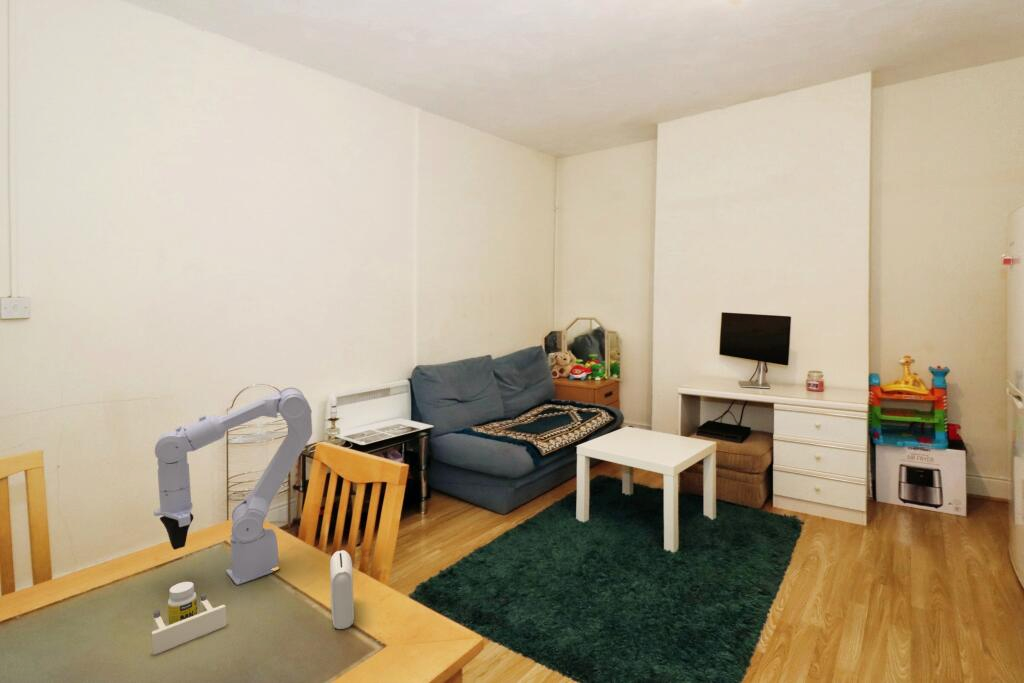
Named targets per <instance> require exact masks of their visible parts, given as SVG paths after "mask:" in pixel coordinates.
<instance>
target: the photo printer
mask: <svg viewBox="0 0 1024 683" xmlns="http://www.w3.org/2000/svg"><path fill="white" fill-rule="evenodd" d="M329 579H330V582H329V586H330V605H331V618H332V624H333V628H336V629H337V630H343V629H344V630H345V629H348V628H349V627H351V626H352V625H353V624H354V619H355V608H354V607H355V606H354V603H355V602H354V574H353V560H352V558H351V556H350V554H349V553H348V552H347V551H346V550H343V549H342V550H337V551H335V552H334V553H333V554H332V556H331V558H330V562H329Z"/></svg>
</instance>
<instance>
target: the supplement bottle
mask: <svg viewBox="0 0 1024 683" xmlns="http://www.w3.org/2000/svg"><path fill="white" fill-rule="evenodd" d="M168 592H169V598H168V601H167V615H168V625H171V624H173V623H176V622H179V621H181V620H184V619H187V618H189V617H192V616H194V615H197V614H198V603H197V599H198V598H197V593H196V592H195V585H194V583H193V582H192V581H182V582H178V583H176V584H174V585H172V586H171V587H170V588H169V591H168Z"/></svg>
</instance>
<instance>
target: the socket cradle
mask: <svg viewBox="0 0 1024 683" xmlns="http://www.w3.org/2000/svg"><path fill="white" fill-rule="evenodd" d="M199 603H200V604H199V606H200V613H197V615H194V616H192V617H189V618H187V619H184V620H181V621H179V622H176V623H173V624H171V625H169V624H168V625H166V624H165V622H164V620H163V618H162V617H161V610H160V609H156V610H154V611H153V618H152V619H153V631H151V641H152V642H151V643H152V644H151V645H152V653H153V655H154V656H156V655H159V654H161V653H162V652H166V651H169V650H170V649H173V648H176V647H178V646H180V645H183V644H185V643H188V642H190V641H193V640H195V639H198V638H200V637H202V636H205V635H208V634H210V633H212V632H215V631H217V630H221V629H222V628H224V627H226V626H227V609H226V605H225V604H222V605H218V606H215V607H213V606H212V605H211V603H210V601H209V600H208V599H207V593H201V594H200V599H199Z"/></svg>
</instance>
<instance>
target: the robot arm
mask: <svg viewBox="0 0 1024 683" xmlns="http://www.w3.org/2000/svg"><path fill="white" fill-rule="evenodd" d="M312 411H313V410H312V408H311V407H310V403H309V401H308V400H307V398H306V397H305V396H304V394H303V392H302V391H301V390H300V389H298V388H296V387H286V388H283V389H282V390H281V391H273V392H271V393H269V394H267V395H265V396H263V397H259V398H258V399H255V400H254V401H252V402H249V403H248V404H245V405H243V406H241V407H240V408H237V409H234V410H233V411H231V412H229V413H226V414H224V415H222V416H217V415H213V414H211V415H208V416H206V414H203V415H200V416H199V417H198V420H196V421H194V422H192V423H188V424H187V425H184V426H183V427H182V426H181V425H180V426H177V427H176V428H175V430H170V431H166V432H164V433H163V434H162V435H161V436H160V437H159V439H158V441H157V442H156V444H155V447H154V455H155V457H156V458H157V465H158V468H157V479H158V482H157V483H158V492H159V493H158V494H159V509H156V510H154V511H153V515H154V516H155V517H158V516H161V517H159V520H160V521H161V523H162V525H163V526H164V528H165V529H166V532H167V536H168V539H169V541H170V544H171V547H172V549H173V550H178V549H181V548H184V547H185V546H186V543H187V538H188V532H189V529H190V525H191V524H192V522H193V521H194V515H193V513H192V510H193V507H194V506H193V502H192V496H191V478H190V476H191V475H190V466H189V462H188V453H190V452H195V451H197V450H199V449H202V448H203V447H206V446H209V445H210V444H212V443H215V442H218V441H220V440H221V439H223V438H224V437H225V435H226V433H227V431H228V430H231V429H233V428H235V427H238V426H240V425H243V424H246V423H249V422H251V421H253V420H256V419H258V418H262V417H267V418H269V417H270V418H275V419H277V418H278V414H279V415H280V416H281V417H282V419H283V420H284V422H285V423H286V426H287V428H288V433H287V434H286V436H285V438H284V439H283V441H282V443H281V444H280V446H279V447H278V448H277V450H276V452H275V453H274V455H273V457H272V459H271V460H270V461H269V464H268V465H267V467H266V468H265V470H264V471H263V473H262V475H261V476H260V478H259V480H258V482H257V483H256V484H255V486H254V488H253V490H252V491H250V492H249V493H248V494H246V497H245V498H244V500H243V501H242V502H240V503H239V504H237V505H236V506H235V507H234V508H233V510H232V513H231V520H232V526H231V534H230V537H229V538H230V555H231V556H230V557H231V568H228V569H226V571H225V572H226V574H227V575H228V576H229V577H230V578H231V580H232V581H233V582H234V583H235V584H236V586H237V585H242V584H244V583H247V582H250V581H252V580H256V579H258V578H261V577H264V576H266V575H269V574H273V573H274V572H273V570H271V569H272V568H275V567H277V566H279V567H280V565H279V564H280V563H279V548H278V538H277V534H276V533H275V531H274V529H272V528H268V529H267V528H266V529H265V528H264V522H265V519H266V517H267V516H268V514H269V511H270V507H271V504H272V502H273V500H274V498H275V496H276V495H277V493H278V492H279V491H280V489H281V487H282V485H283V484H284V482H285V481H286V478H287V477H288V475H289V474H290V472H291V471H292V469H293V467H294V465H295V464H296V462H297V461H298V459H299V457H300V455H301V454H302V452H303V451H304V449H305V447H306V446H307V444H308V442H309V441H310V439H311V438H312V435H313V422H312Z"/></svg>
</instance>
